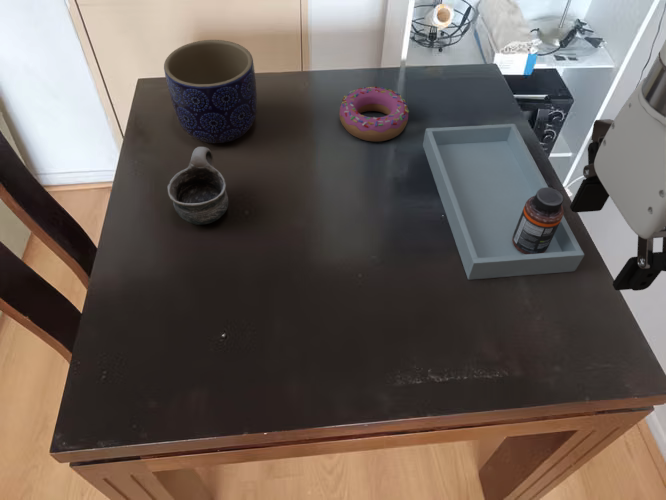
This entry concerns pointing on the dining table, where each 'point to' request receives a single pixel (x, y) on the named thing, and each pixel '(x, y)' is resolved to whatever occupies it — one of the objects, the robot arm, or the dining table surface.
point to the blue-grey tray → (493, 200)
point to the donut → (374, 101)
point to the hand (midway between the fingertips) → (605, 245)
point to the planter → (212, 89)
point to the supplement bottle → (538, 221)
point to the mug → (199, 190)
